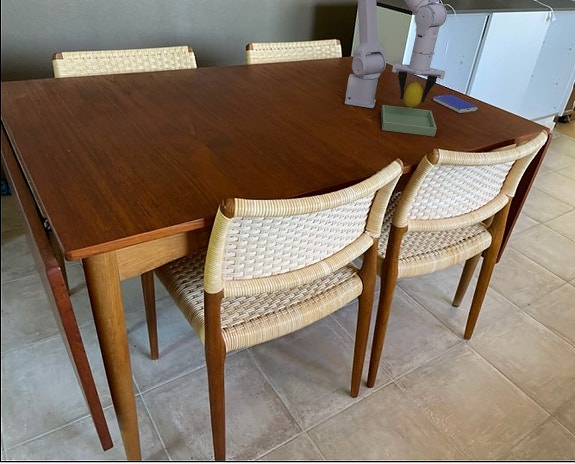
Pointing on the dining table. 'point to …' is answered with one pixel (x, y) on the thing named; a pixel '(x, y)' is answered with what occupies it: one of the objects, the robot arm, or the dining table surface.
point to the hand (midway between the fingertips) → (411, 99)
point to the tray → (408, 120)
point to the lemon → (413, 94)
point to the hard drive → (455, 103)
